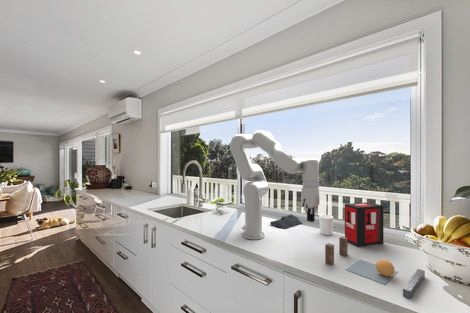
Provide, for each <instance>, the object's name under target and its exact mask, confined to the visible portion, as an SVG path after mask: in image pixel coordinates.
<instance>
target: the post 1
mask: <svg viewBox="0 0 470 313" xmlns="http://www.w3.org/2000/svg"><path fill="white" fill-rule="evenodd" d="M324 246H325V247H324V248H325V249H324V252H325V254H324V256H325V258H324V259H325V260H324V261H325V264H326V265H329V266H333V265H334V264H335V244H333V243H326V244H325V245H324Z"/></svg>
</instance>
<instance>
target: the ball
mask: <svg viewBox="0 0 470 313" xmlns="http://www.w3.org/2000/svg"><path fill="white" fill-rule="evenodd" d="M375 264H376V269H377V271H378V272H379V273H380V274H381V275H383V276H386V277H389V276H392V275H393V274H394V271H396V270H395V267H394V264H393V263H392V262H391V261H389V260H388V259H379V260H378V261H377V262H376V263H375Z"/></svg>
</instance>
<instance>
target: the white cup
mask: <svg viewBox="0 0 470 313" xmlns="http://www.w3.org/2000/svg"><path fill="white" fill-rule="evenodd" d="M318 217H319V220H318V221H319V222H318V223H319V232H320V234H322V235H325V236H332V235H333V230H334V216H333V215H329V214H319V216H318Z"/></svg>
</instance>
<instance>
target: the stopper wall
mask: <svg viewBox="0 0 470 313" xmlns="http://www.w3.org/2000/svg"><path fill="white" fill-rule="evenodd" d="M425 272H426V271H425V270H423V269H421V268H417V270H416V271H415V272H414V273H413V275H412V276H411V277H410V279H409V280H408V281H407V283H406V284H405V285H404V286H403V288H402V297H405V298H407V299H409V300H411V299H412V298H413V296H414V294H415V293H416V292H417V290H418V288H419V287H420V285H421V283H422V282H423V281H424V280H425V277H426V273H425Z"/></svg>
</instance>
